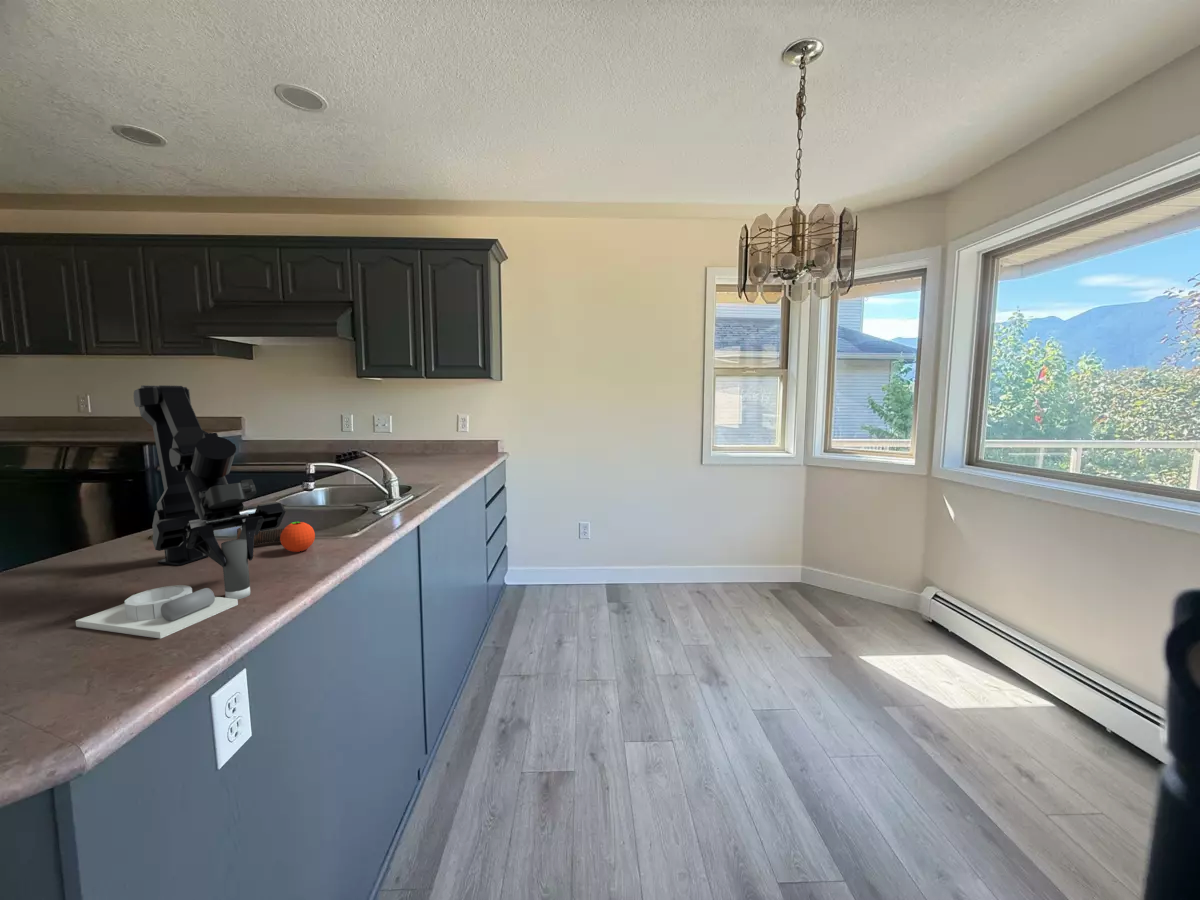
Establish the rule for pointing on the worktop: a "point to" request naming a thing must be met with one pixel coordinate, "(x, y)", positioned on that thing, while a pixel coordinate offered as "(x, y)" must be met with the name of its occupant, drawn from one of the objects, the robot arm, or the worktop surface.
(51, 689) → the worktop surface
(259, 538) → the bolt
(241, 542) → the crank handle
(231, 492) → the robot arm
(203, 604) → the white socket base plate
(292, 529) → the clementine
